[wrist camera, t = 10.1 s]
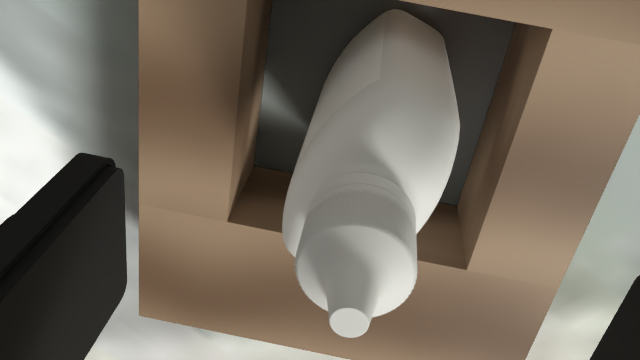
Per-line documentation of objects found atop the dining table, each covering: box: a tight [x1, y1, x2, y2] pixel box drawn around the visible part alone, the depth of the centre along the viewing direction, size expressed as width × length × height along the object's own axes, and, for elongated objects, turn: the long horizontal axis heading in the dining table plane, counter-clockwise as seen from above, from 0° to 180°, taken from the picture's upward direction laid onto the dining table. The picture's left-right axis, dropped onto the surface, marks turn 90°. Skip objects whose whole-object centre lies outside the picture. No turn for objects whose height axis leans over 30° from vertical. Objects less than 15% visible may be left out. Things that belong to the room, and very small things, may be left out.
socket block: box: [138, 0, 640, 360], centre depth 19 cm, size 18×14×4 cm
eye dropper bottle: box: [282, 9, 460, 338], centre depth 15 cm, size 4×6×12 cm
